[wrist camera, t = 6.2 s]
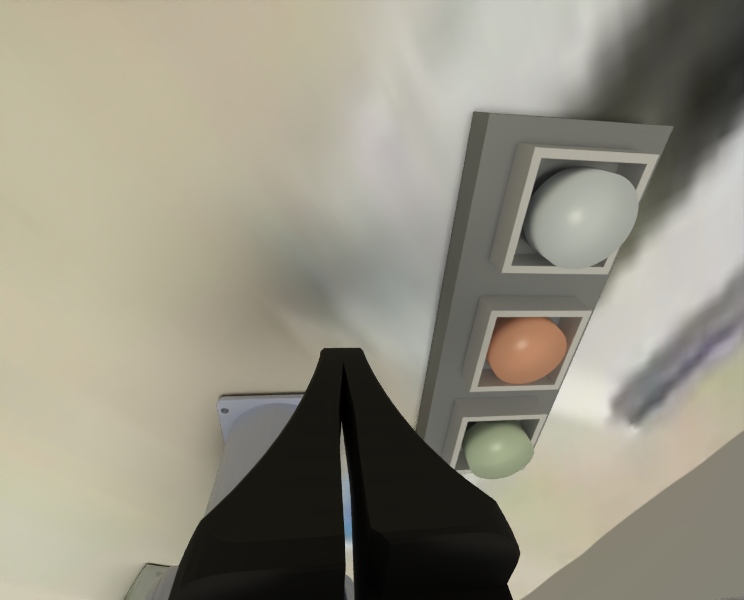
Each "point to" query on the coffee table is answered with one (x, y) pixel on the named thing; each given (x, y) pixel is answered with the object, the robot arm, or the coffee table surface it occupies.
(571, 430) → the coffee table surface
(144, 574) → the tea box
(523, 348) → the terracotta button
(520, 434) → the sage button
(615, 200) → the blue-grey button
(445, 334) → the button panel
